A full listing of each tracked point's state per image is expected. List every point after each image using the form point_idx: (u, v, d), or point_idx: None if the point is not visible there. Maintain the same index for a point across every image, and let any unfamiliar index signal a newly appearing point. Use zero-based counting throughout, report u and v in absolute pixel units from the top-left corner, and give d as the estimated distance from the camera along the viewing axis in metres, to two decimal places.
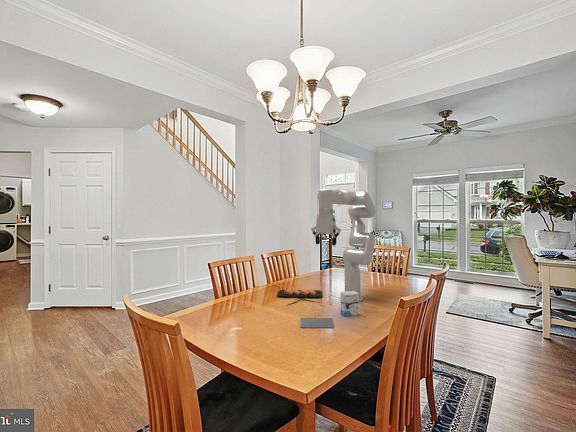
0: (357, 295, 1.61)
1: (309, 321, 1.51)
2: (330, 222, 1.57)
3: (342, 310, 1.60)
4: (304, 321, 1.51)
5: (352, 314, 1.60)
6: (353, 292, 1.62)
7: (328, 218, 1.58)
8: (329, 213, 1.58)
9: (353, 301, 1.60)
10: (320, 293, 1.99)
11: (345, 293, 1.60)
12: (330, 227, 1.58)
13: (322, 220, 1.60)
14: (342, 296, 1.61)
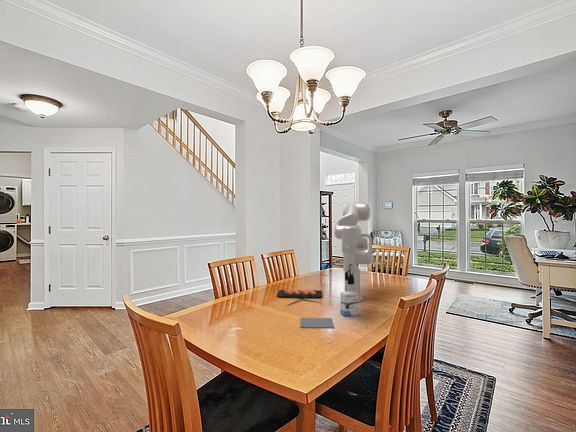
0: (357, 295, 1.61)
1: (309, 321, 1.51)
2: None
3: (342, 310, 1.60)
4: (304, 321, 1.51)
5: (352, 314, 1.60)
6: (353, 292, 1.62)
7: None
8: None
9: (353, 301, 1.60)
10: (320, 293, 1.99)
11: (345, 293, 1.60)
12: None
13: None
14: (342, 296, 1.61)
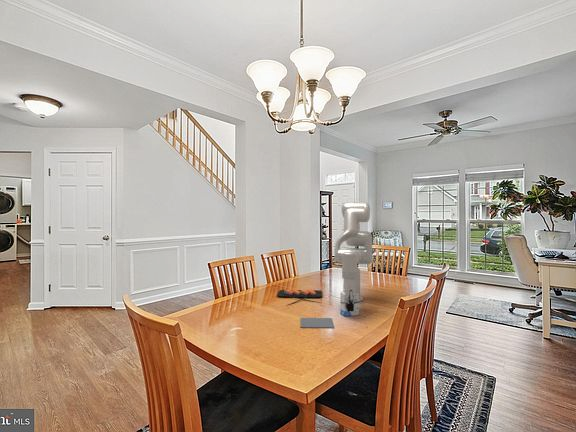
0: (357, 295, 1.61)
1: (309, 321, 1.51)
2: None
3: (342, 310, 1.60)
4: (304, 321, 1.51)
5: (352, 314, 1.60)
6: None
7: None
8: None
9: (353, 301, 1.60)
10: (320, 293, 1.99)
11: None
12: None
13: None
14: (342, 296, 1.61)
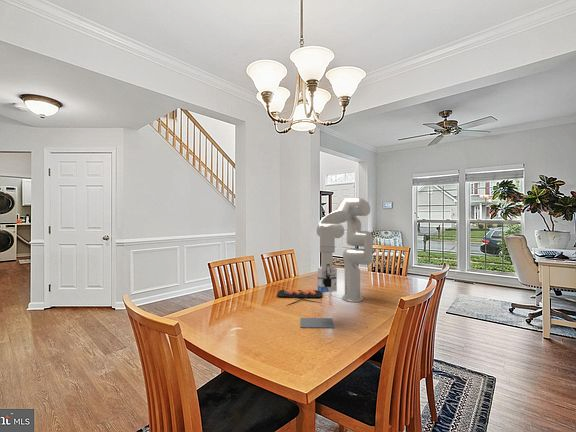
0: (335, 270, 1.52)
1: (309, 321, 1.51)
2: None
3: (319, 286, 1.51)
4: (304, 321, 1.51)
5: (330, 290, 1.51)
6: None
7: None
8: None
9: None
10: (320, 293, 1.99)
11: None
12: None
13: None
14: (319, 271, 1.52)
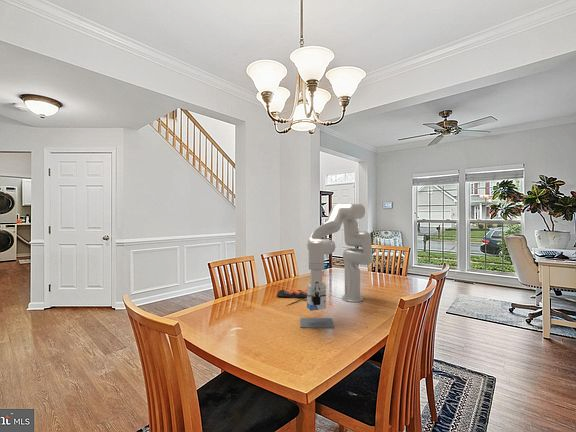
0: (324, 287, 1.48)
1: (309, 321, 1.51)
2: None
3: (308, 304, 1.48)
4: (304, 321, 1.51)
5: (319, 308, 1.48)
6: None
7: None
8: None
9: (320, 294, 1.47)
10: None
11: None
12: None
13: None
14: (308, 288, 1.48)
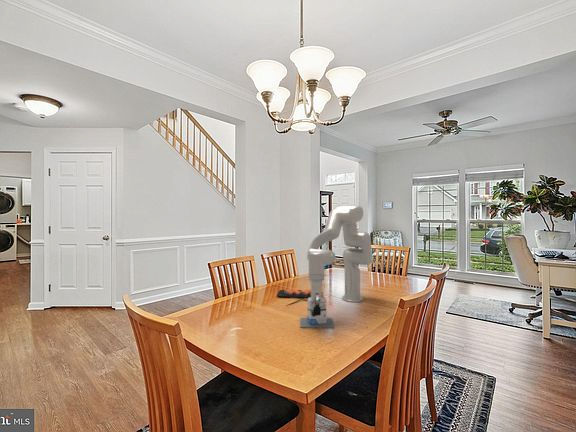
0: (325, 302, 1.48)
1: None
2: None
3: (308, 318, 1.49)
4: (304, 321, 1.51)
5: (319, 322, 1.48)
6: (321, 298, 1.50)
7: None
8: None
9: None
10: None
11: None
12: None
13: None
14: (308, 302, 1.49)
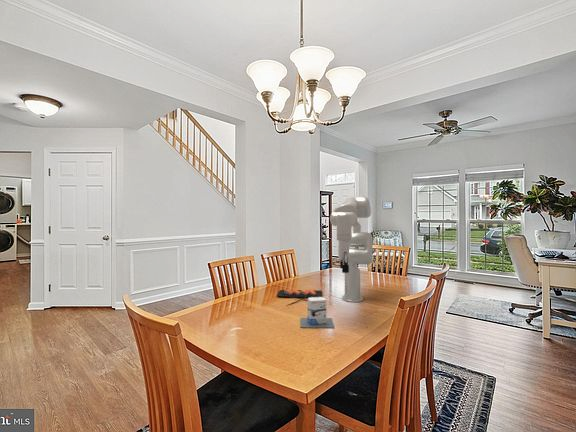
0: (325, 302, 1.48)
1: None
2: None
3: (308, 318, 1.49)
4: (304, 321, 1.51)
5: (319, 322, 1.48)
6: (321, 298, 1.50)
7: None
8: None
9: (320, 308, 1.48)
10: (320, 293, 1.98)
11: (312, 299, 1.48)
12: None
13: None
14: (308, 302, 1.49)
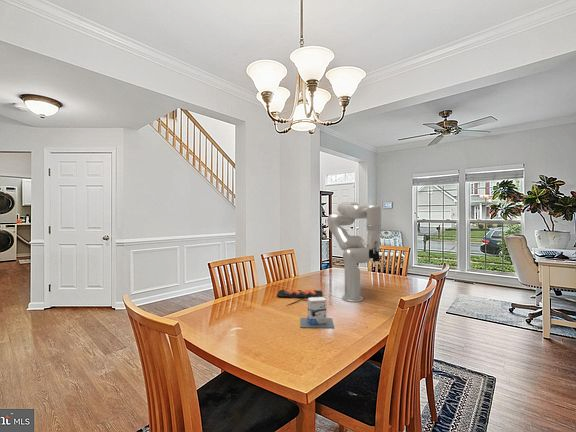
0: (325, 302, 1.48)
1: None
2: None
3: (308, 318, 1.49)
4: (304, 321, 1.51)
5: (319, 322, 1.48)
6: (321, 298, 1.50)
7: None
8: None
9: (320, 308, 1.48)
10: (320, 293, 1.98)
11: (311, 299, 1.48)
12: None
13: None
14: (308, 302, 1.49)
